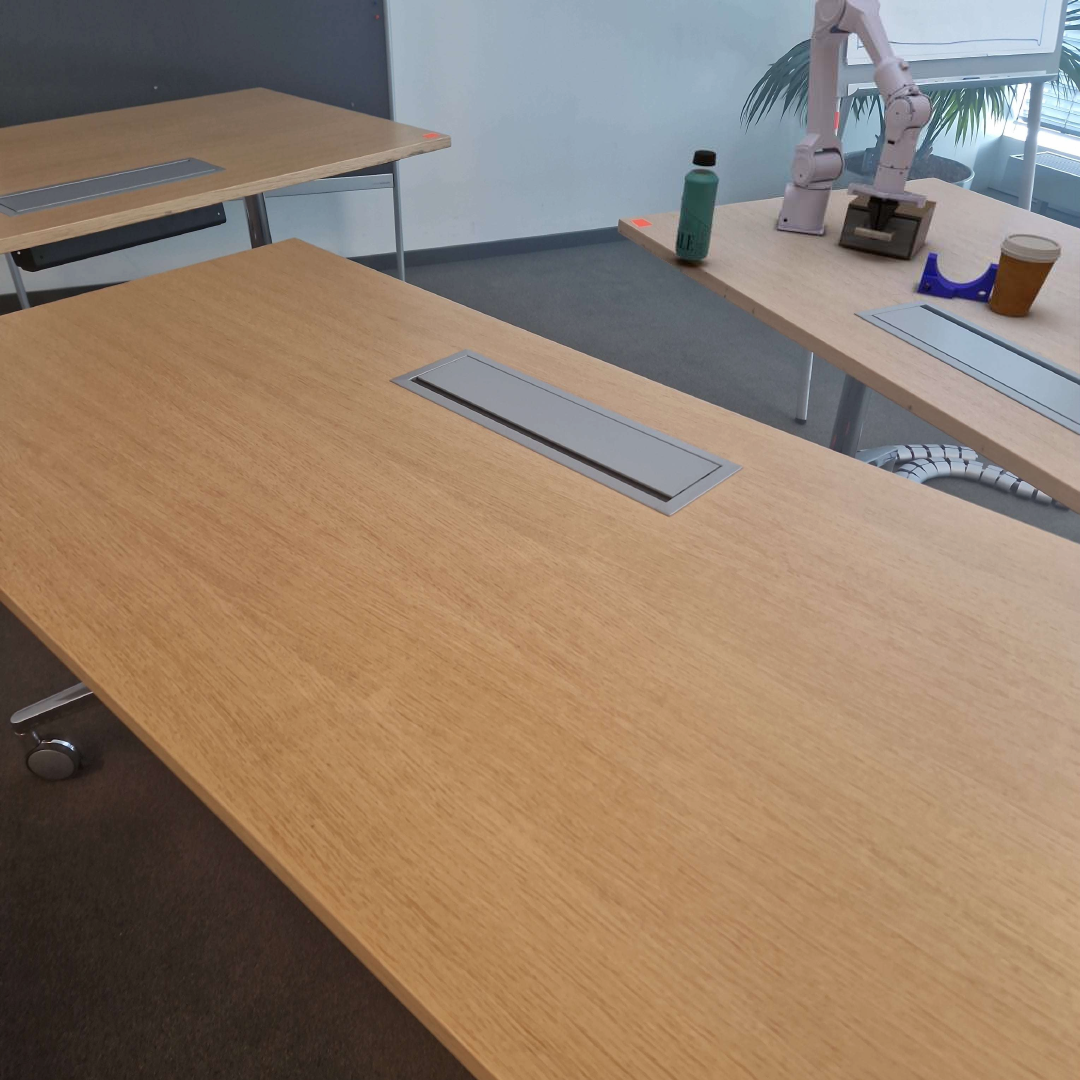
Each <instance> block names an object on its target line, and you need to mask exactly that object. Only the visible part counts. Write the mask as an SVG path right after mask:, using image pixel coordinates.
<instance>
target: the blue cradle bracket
mask: <svg viewBox="0 0 1080 1080" xmlns="http://www.w3.org/2000/svg"><path fill="white" fill-rule="evenodd" d="M938 256H939V254H938V253H934V252H929V253H928V256H927V259H926V262H925V266H924V269H923V271H922V275H921V278H920V281H919V285H918V288H917V290H916V291H917V293H919V294H923V295H930V296H935V297H940V298H946V299H951V300H952V299H953V297H956V298H960V299H967V300H971V301H977V302H982V303H988V302H989V300H990V298H991V297H990V296H991V295H992V292H993V287H994V282H995V278H996V274H997V269H998V264H999V263H993V262H990V264H989V266H988V268H987V269H986V271H985V272H984V273H983V274H982V275H981V276H980V277H978V278H976V279H975V280H974V279H973V280H972V281H969V282H964V283H963V282H954V281H951V280H950V279H947V278H946V277H945V276H944V275H943V274H942V273H941V271H940V270H939V267H938ZM982 292H983V293H984V294H981V293H982Z"/></svg>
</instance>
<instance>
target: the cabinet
mask: <svg viewBox="0 0 1080 1080" xmlns="http://www.w3.org/2000/svg"><path fill="white" fill-rule="evenodd" d="M869 200H870V198H868V197H862V196H856V197H855V198H853V199H852V200H851V201H850V202H848V204H847V210H846V213H845V217H844V222H843V225H842V229H841V234H840V238H839V242H838V246H839V247H844V248H849V249H854V250H859V251H864V252H868V253H874V254H878V255H882V256H883V255H884V256H888V257H893V258H897V259H902V260H907V261H911V260H912V258H913V257H914V256H915V255H916V254H917V253H918V251H920V249H921V248H922V247H923V245H924V244H925V242H926V239H927V236H928V232H929V230H930V226H931V222H932V220H933V216H934V212H935V209H936V207H937V201H932V200H926V203H925V206H924V207H923V208H917V207H916V206H910V205H905V204H900V205H899V207H898V208H897V209H896V210H895V212H894V213H893V214H892V215H893V216H898V217H904V218H909V219H914V220H918V223H917V226H916V230H915V233H914V236H913V240H912V243H911V247H910V250H909V253H908V256H907V257H905V256H900V255H895V254H890V253H885V252H881V251H876V250H871V249H866V248H861V247H856V246H852V245H847V244H842V243H841V241H842V237H843V232H844V228H845V224H846V220H847V216H848V212H849V209H855V208H856V209H862V210H867V211H869V210H868V206H867V203H868V202H869Z"/></svg>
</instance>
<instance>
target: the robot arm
mask: <svg viewBox="0 0 1080 1080" xmlns="http://www.w3.org/2000/svg"><path fill="white" fill-rule="evenodd" d="M880 9H881V2H880V1H879V0H816V2H815V3H814V20H813V29H812V32H811V35H810V47H809V48H810V49H809V51H810V52H809V73H808V74H809V75H808V90H807V91H808V94H807V95H808V96H807V98H808V99H807V115H806V116H807V117H806V134H805V136H804V138H803V139H801V141H800V142H799V143H798V144H797V145H796V146H795V150H794V151H795V152H794V156H793V157H794V158H793V160H792V163H791V168H790V170H791V171H790V172H791V178H792V180H793V181H794V182H786V186H785V191H784V195H783V201H782V205H781V209H779V212H778V225H777V229H778V230H781V231H787V232H789V231H790V232H797V233H804V234H811V235H819V236H823V235H824V232H825V226H826V225H825V224H826V223H825V218H826V213H827V209H828V204H829V200H830V197H831V196H830V195H831V192H832V187H834V186H835V184H836V181H837V180H839V179H840V178H841V177H842V175H843V173H844V171H845V165H846V161H845V156H844V154H843V142H842V141H841V139H840V138H839V137H838V136H837V135H836V132H835V131H836V115H837V97H838V96H837V95H838V79H839V63H840V62H839V60H840V47H841V45H842V44H843V43H844V42H845V41H846V39H847V38H848V37H849V36H851V35H852V34H856V35H857V37H858V38H859V40H860V43H861V44H862V46H863V48H864V50H865V51H866V53H867V55H868V56H869V58H870V60H871V61H872V63H873V65H874V68H875V70H874V73H873V77H872V80H873V82H874V84H875V86H876V88H877V91H878V92H879V94H880V96H881V99H882V101H883V102H884V105H885V107H886V109H885V110H884V115H883V117H884V119H883V120H884V124H885V132H884V138H885V139H884V143H883V146H882V150H881V154H880V158H879V162H878V165H877V169H876V173H875V175H874V176H875V177H874V181H873V184H866V183H865V184H864V183H856V182H851V183H849V184H848V187H847V191H846V195H848V196H856V197H858V196H862V197H868V198H870V200H869V202H868V203H867V206H868V210H869V215H870V230H875V231H880V232H882V230H883V229H884V227H885V225H886V223H887V222H888V220H889V219H890V217H891V216H892V214H893V213H894V212H895V210H896V209H897V208H898V207H899V205H900V204H905V205H910V206H916V207H917V208H923V207H924V206H925V203H926V200H927V199H928V195H923V194H919V193H915V192H911V191H908V190H905V187H906V183H907V180H908V176H909V173H910V170H911V166H912V163H913V159H914V156H915V152H916V148H917V145H918V141H919V137H920V135H921V131H922V129H923V128H925V127H926V126H927V125H928V124H929V122H930V121H931V119H932V116H933V112H934V109H933V108H934V107H933V103H932V98H931V97H930V95H927V94H925V93H922V92H921V90H920V89H919V86H918V85H916V82H915V81H914V78H913V76H912V74H911V72H910V69H909V68H910V65H909V62H908V60H905V59H904V58H902V57H898V56H895V55H894V52H893V49H892V45H891V44H890V40H889V38H888V35H887V33H886V31H885V27H884V25H883V21H882V20H881V16H880ZM818 150H819V151H818ZM870 239H872V240H878V239H875V238H870Z"/></svg>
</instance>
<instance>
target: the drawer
mask: <svg viewBox="0 0 1080 1080" xmlns="http://www.w3.org/2000/svg"><path fill="white" fill-rule="evenodd" d="M917 223H918V220H914V219H909V218H904V217H899V218H898V217H893V216H891V217H890V219H889V220H888V222H887V223H886V225H885V227H884V229H883V230H882V232H880V231H875V230H870V215H869V211H867V210H862V209H856V208H855V209H849V212H848V216H847V220H846V224H845V228H844V232H843V237H842V241H841V243H842V244H847V245H852V246H856V247H861V248H866V249H871V250H876V251H881V252H885V253H890V254H895V255H900V256H905V257H907V256H908V253H909V250H910V247H911V243H912V240H913V236H914V233H915V230H916V226H917ZM870 238H875V239H878V240H872V239H870Z"/></svg>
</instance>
